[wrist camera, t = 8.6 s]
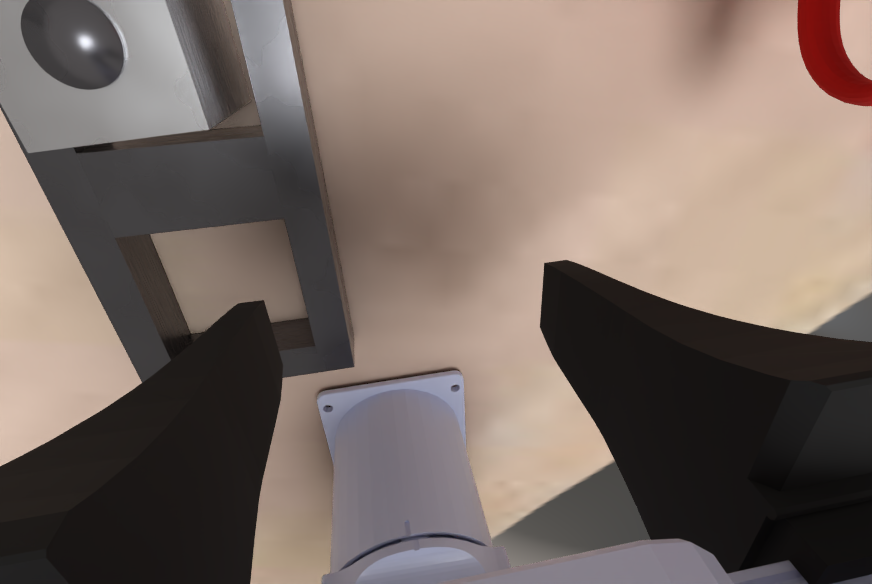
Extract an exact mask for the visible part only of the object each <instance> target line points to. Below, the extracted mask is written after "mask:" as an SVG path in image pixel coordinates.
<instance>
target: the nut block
mask: <svg viewBox="0 0 872 584" xmlns="http://www.w3.org/2000/svg"><path fill="white" fill-rule="evenodd" d="M250 101H252V100H251V96H250V93H249V89H248V86H247V83H246V79H245V76H244V72H243V69H242V65H241V62H240V58H239V55H238V51H237V48H236V44H235V41H234V37H233V34H232V30H231V27H230V23H229V20H228V16H227V13H226V9H225V6H224V3H223V0H0V104H1V105H2V107H3V109H4V111H5V113H6V114H7V116H8V118H9V120H10V122H11V123H12V125H13V127H14V129H15V131H16V132H17V134H18V136H19V138H20V140H21V141H22V143H23V145H24V147H25V149H26V150H27V152H28V153H33V152H41V151H49V150H56V149H64V148H72V147H79V146H87V145H94V144H102V143H110V142H117V141H125V140H133V139H140V138H148V137H155V136H163V135H171V134H178V133H186V132H194V131H201V130H209V129H211V128H212V127H214V126H215V125H217V124H218V123H220V122H221V121H222V120H224V119H225V118H227V117H228V116H230V115H231V114H233V113H234V112H236V111H237V110H239V109H240V108H242V107H243V106H245V105H246V104H247V103H249V102H250Z"/></svg>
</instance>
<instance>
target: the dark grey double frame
mask: <svg viewBox="0 0 872 584" xmlns="http://www.w3.org/2000/svg"><path fill="white" fill-rule="evenodd" d="M231 4H232V8H233V12H234V16H235V20H236V24H237V28H238V32H239V36H240V40H241V44H242V48H243V53H244V57H245V61H246V65H247V69H248V73H249V77H250V81H251V85H252V89H253V93H254V97H255V101H256V106H257V110H258V114H259V118H260V122H261V125H259V126H248V127H237V128H226V129H215V130H203V131H194V132H186V133H178V134H171V135H163V136H155V137H148V138H140V139H133V140H125V141H117V142H110V143H102V144H94V145H87V146H79V147H72V148H64V149H56V150H49V151H41V152H33V153H28V152H27V150H26V149H25V147H24V145H23V143H22V141H21V140H20V138H19V136H18V134H17V132H16V131H15V129H14V127H13V125H12V123H11V122H10V120H9V118H8V116H7V114H6V113H5V111H4V109H3V107H2V105H1V104H0V108H1V110H2V112H3V114H4V116H5V118H6V120H7V122H8V124H9V126H10V127H11V129H12V131H13V133H14V135H15V137H16V139H17V141H18V143H19V145H20V147H21V149H22V151H23V153H24V155H25V157H26V158H27V160H28V162H29V164H30V166H31V168H32V170H33V172H34V174H35V176H36V178H37V180H38V182H39V184H40V186H41V187H42V189H43V191H44V193H45V195H46V197H47V199H48V201H49V203H50V205H51V207H52V209H53V211H54V213H55V215H56V217H57V218H58V220H59V222H60V224H61V226H62V228H63V230H64V232H65V234H66V236H67V238H68V240H69V242H70V244H71V246H72V247H73V249H74V251H75V253H76V255H77V257H78V259H79V261H80V263H81V265H82V267H83V269H84V271H85V273H86V275H87V277H88V278H89V280H90V282H91V284H92V286H93V288H94V290H95V292H96V294H97V296H98V298H99V300H100V302H101V304H102V306H103V307H104V309H105V311H106V313H107V315H108V317H109V319H110V321H111V323H112V325H113V327H114V329H115V331H116V333H117V335H118V337H119V338H120V340H121V342H122V344H123V346H124V348H125V350H126V352H127V354H128V356H129V358H130V360H131V362H132V364H133V366H134V367H135V369H136V371H137V373H138V375H139V377H140V379H141V381H142V383H143V382H144V381H146V380H147V379H148V378H150V377H151V376H152V375H154V374H155V373H156V372H157V371H159V370H160V369H161V368H162V367H164V366H165V365H166V364H167V363H169V362H170V361H171V360H172V359H174V358H175V357H176V356H177V355H179V354H180V353H181V352H182V351H183V350H185V349H186V348H187V347H188V346H189V345H190V344H192V343H193V342H194V341H195V340H196V339H197V338H198V337H200V336H201V335H202V334H203V333H198V334H190V332H189V329H188V327H187V324H186V322H185V320H184V317H183V315H182V312H181V310H180V308H179V305H178V303H177V300H176V298H175V296H174V293H173V291H172V288H171V286H170V283H169V281H168V279H167V276H166V274H165V271H164V269H163V267H162V264H161V262H160V259H159V257H158V255H157V252H156V250H155V247H154V245H153V242H152V240H151V238H150V235H149V234H154V233H163V232H171V231H180V230H189V229H198V228H207V227H215V226H224V225H233V224H242V223H251V222H259V221H268V220H277V219H284V220H285V224H286V228H287V232H288V236H289V240H290V244H291V248H292V252H293V256H294V261H295V265H296V269H297V273H298V277H299V281H300V285H301V289H302V293H303V297H304V301H305V305H306V309H307V314H308V318H306V319H299V320H292V321H284V322H277V323H271V326H272V330H273V333H274V336H275V340H276V343H277V346H278V350H279V353H280V356H281V360H282V363H283V376H282V378H285V377H291V376H298V375H304V374H311V373H318V372H324V371H331V370H337V369H344V368H350V367H354V334H353V329H352V324H351V318H350V313H349V308H348V302H347V297H346V292H345V286H344V281H343V276H342V270H341V265H340V260H339V255H338V249H337V244H336V239H335V233H334V228H333V223H332V217H331V212H330V207H329V201H328V196H327V191H326V185H325V180H324V175H323V170H322V164H321V159H320V154H319V148H318V143H317V138H316V132H315V127H314V122H313V116H312V111H311V106H310V100H309V95H308V90H307V85H306V79H305V74H304V69H303V63H302V58H301V53H300V47H299V42H298V37H297V31H296V26H295V21H294V15H293V10H292V5H291V0H231Z"/></svg>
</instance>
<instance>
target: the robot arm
mask: <svg viewBox="0 0 872 584" xmlns="http://www.w3.org/2000/svg"><path fill="white" fill-rule="evenodd" d="M540 328H541V331H542V333H543V335H544V338H545V340H546V342H547V345H548V347H549V349H550V351H551V353H552V355H553V357H554V359H555V361H556V362H557V364H558V366H559V367H560V369H561V370H562V372H563V373H564V375H565V377H566V378H567V380H568V381H569V383H570V384H571V386H572V388H573V389H574V391H575V392H576V394H577V395H578V397H579V398H580V400H581V402H582V403H583V405H584V406H585V408H586V409H587V411H588V412H589V414H590V416H591V417H592V419H593V420H594V422H595V423H596V425H597V427H598V429H599V430H600V432H601V434H602V436H603V437H604V439H605V441H606V443H607V445H608V447H609V449H610V451H611V453H612V455H613V457H614V459H615V462H616V463H617V466H618V468H619V470H620V472H621V474H622V476H623V478H624V480H625V482H626V484H627V487H628V489H629V491H630V493H631V495H632V498H633V500H634V502H635V504H636V506H637V508H638V511H639V513H640V515H641V518H642V520H643V522H644V525H645V527H646V529H647V532H648V534H649V536H650V539H651V540H641V541H636V542H631V543H627V544H622V545H617V546H612V547H608V548H603V549H598V550H593V551H588V552H584V553H579V554H574V555H569V556H565V557H560V558H555V559H550V560H546V561H541V562H536V563H532V564H526V565H522V566H517V567H512V568H511V566H510V563H509V559H508V556H507V553H506V549H505V547H504V546H496V547H493V544H492V541H491V537H490V534H489V530H488V526H487V523H486V519H485V516H484V512H483V508H482V505H481V501H480V498H479V494H478V491H477V487H476V483H475V480H474V476H473V473H472V469H471V465H470V462H469V458H468V455H467V451H466V431H465V404H464V379H463V376H462V373H461V372H460V371H457V370H453V371H447V372H440V373H434V374H427V375H421V376H415V377H408V378H402V379H396V380H389V381H383V382H376V383H370V384H364V385H357V386H351V387H345V388H338V389H332V390H325V391H322V392H320V393H319V394H318V396H317V405H318V408H319V412H320V416H321V420H322V424H323V427H324V431H325V435H326V439H327V443H328V446H329V450H330V454H331V458H332V461H333V465H334V480H333V507H332V534H331V562H330V574H325V575H323V576H322V584H872V342H865V341H854V340H844V339H836V338H829V337H822V336H816V335H809V334H802V333H796V332H790V331H785V330H779V329H774V328H768V327H764V326H759V325H755V324H750V323H746V322H741V321H736V320H732V319H728V318H724V317H720V316H717V315H713V314H710V313H706V312H703V311H700V310H696V309H693V308H689V307H686V306H683V305H680V304H677V303H674V302H671V301H669V300H666V299H663V298H660V297H658V296H655V295H652V294H650V293H647V292H644V291H642V290H639V289H637V288H635V287H632V286H630V285H627V284H625V283H623V282H620V281H618V280H616V279H613V278H611V277H609V276H606V275H604V274H602V273H599V272H597V271H595V270H592V269H590V268H588V267H585V266H583V265H580V264H577V263H575V262H571V261H568V260H564V261H556V262H549V263H544V277H543V291H542V305H541V320H540ZM282 376H283V363H282V360H281V356H280V353H279V350H278V346H277V343H276V340H275V336H274V333H273V330H272V326H271V323H270V320H269V316H268V313H267V309H266V306H265V303H264V300H262V301H254V302H247V303H239V304H237V305H236V306H234V307H233V308H232V309H230V310H229V311H228V312H227V313H226V314H225V315H223V316H222V317H221V318H220V319H219V320H218V321H217V322H215V323H214V324H213V325H212V326H211V327H210V328H209V329H208V330H206V331H205V332H204V333H203V334H202V335H201V336H200V337H198V338H197V339H196V340H195V341H194V342H193V343H192V344H190V345H189V346H188V347H187V348H186V349H185V350H183V351H182V352H181V353H180V354H179V355H177V356H176V357H175V358H174V359H172V360H171V361H170V362H169V363H167V364H166V365H165V366H164V367H162V368H161V369H160V370H159V371H157V372H156V373H155V374H154V375H152V376H151V377H150V378H148V379H147V380H146V381H144V382H143V383H142V384H140V385H139V386H137V387H136V388H135V389H133V390H132V391H130V392H129V393H127V394H126V395H124V396H123V397H121V398H120V399H118V400H117V401H115V402H114V403H112V404H111V405H109V406H108V407H106V408H105V409H103V410H102V411H100V412H98V413H97V414H95V415H93V416H92V417H90V418H88V419H86V420H85V421H83V422H81V423H80V424H78V425H76V426H74V427H73V428H71V429H69V430H68V431H66V432H64V433H63V434H61V435H59V436H57V437H56V438H54V439H52V440H50V441H49V442H47V443H45V444H43V445H41V446H39V447H37V448H35V449H34V450H32V451H30V452H28V453H26V454H24V455H22V456H20V457H18V458H16V459H14V460H12V461H10V462H8V463H6V464H4V465H2V466H0V584H250V580H251V569H252V559H253V548H254V538H255V529H256V521H257V512H258V503H259V496H260V491H261V485H262V480H263V475H264V471H265V467H266V462H267V458H268V454H269V449H270V445H271V441H272V436H273V432H274V428H275V423H276V419H277V414H278V410H279V405H280V400H281V390H282ZM453 385H457V386H456V387H452V386H453ZM326 405H330V406H331V407H325V406H326Z"/></svg>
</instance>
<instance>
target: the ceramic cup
mask: <svg viewBox="0 0 872 584" xmlns="http://www.w3.org/2000/svg"><path fill="white" fill-rule="evenodd" d="M798 38H799V45H800V50H801V55H802V58H803V61H804V63H805V66H806V69H807V70H808V72H809V74H810V75H811V77H812V79H813V80H814V81H815V82H816V83H817V85H818V86H819V87H820V88H821V89H822V90H824V91H825V92H826V93H827V94H829V95H830V96H832V97H834V98H836V99H838V100H840V101H843V102H845V103H849V104H854V105H860V106H872V80H870V79H868V78H866V77H864V76H863V75H862V74H860V73H859V72H858V70H857V69H856V68H855V67H854V66H853V65H852V63H851V61H850V60H849V58H848V56H847V54H846V52H845V49H844V47H843V43H842V39H841V33H840V0H798Z"/></svg>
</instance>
